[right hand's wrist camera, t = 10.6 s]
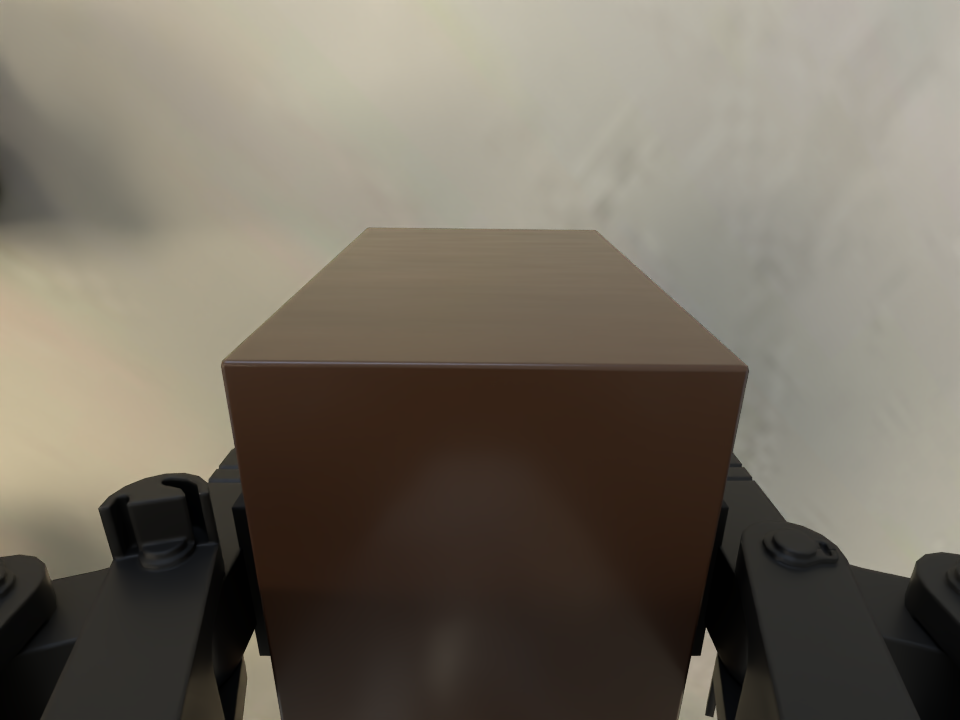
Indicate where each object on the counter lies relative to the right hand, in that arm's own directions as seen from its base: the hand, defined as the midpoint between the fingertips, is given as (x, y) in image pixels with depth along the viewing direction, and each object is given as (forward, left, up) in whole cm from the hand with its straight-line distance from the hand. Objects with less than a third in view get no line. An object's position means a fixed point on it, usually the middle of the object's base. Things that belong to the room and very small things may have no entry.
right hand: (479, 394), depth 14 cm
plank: (0, -12, 0) cm, 12 cm away
